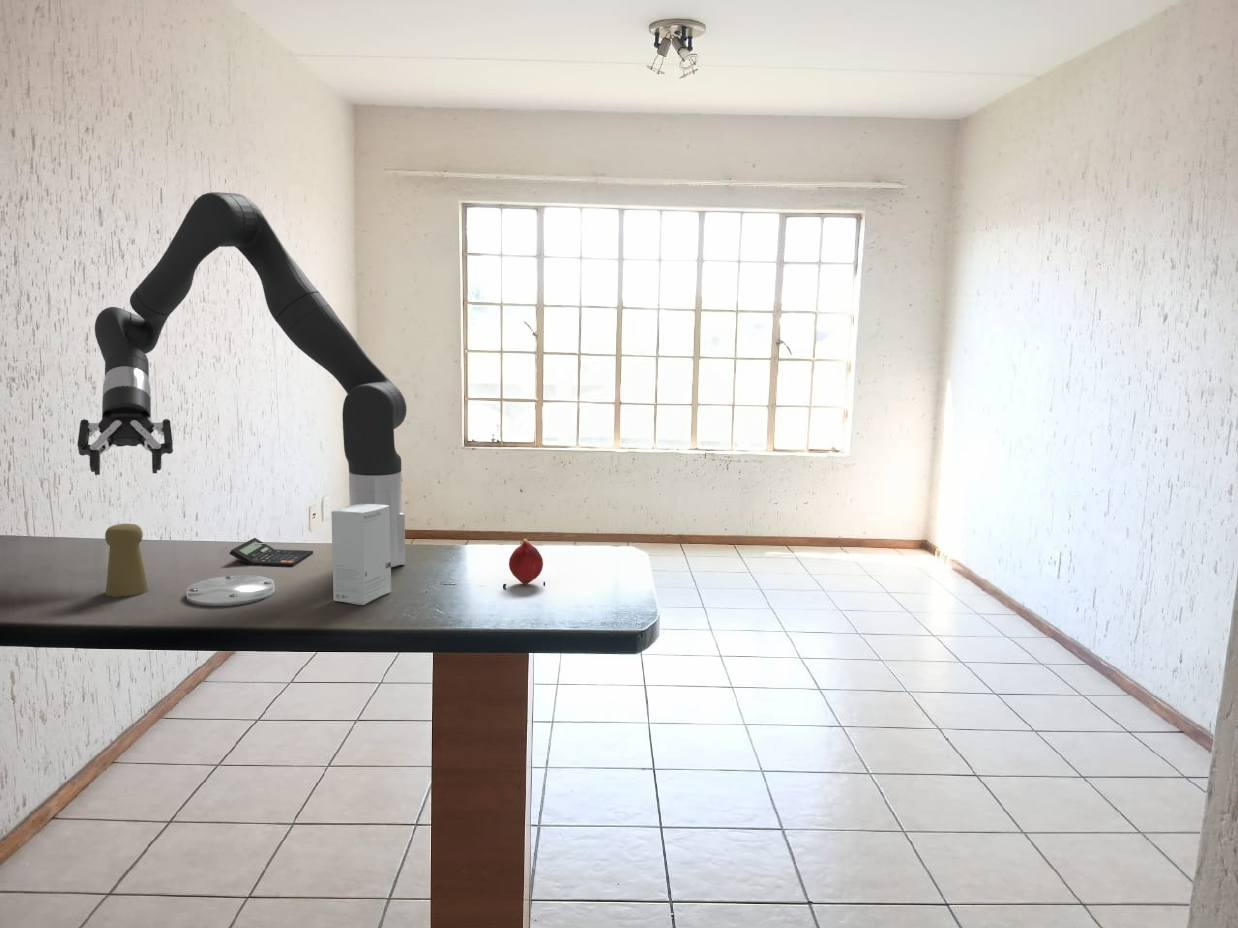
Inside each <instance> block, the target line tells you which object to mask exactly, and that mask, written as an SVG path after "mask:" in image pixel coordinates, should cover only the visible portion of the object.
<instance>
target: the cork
mask: <svg viewBox="0 0 1238 928" xmlns="http://www.w3.org/2000/svg"><path fill="white" fill-rule="evenodd" d="M143 537H144V535H143V529H142V528H141V526H139V525H138V524H135V523H119V524H118V523H117V524H114V525H111V526H109V527H108V528H106V530H105V534H104V539H105V541H106V544H107V545H108V546H109V552H108V553H109V554H108V562H107V563H108V564H107V575H106V585H105V595H106V596H107V595H108V597H110V596H112V597H111V598H122V597H121V596H129V597H132V596H131V595H135V596H138V595H137V594H140V593H143V594H145V593H146V592H145V591H147V590H148V591H149V586H148V585H149V584H148V581H147V576H146V575H147V574H146V571H145V565H144V562H143V557H142V552H141V546H140V543H141V542H142V541H143ZM148 591H147V592H148ZM144 592H145V593H144ZM140 595H141V594H140ZM119 596H120V597H119Z"/></svg>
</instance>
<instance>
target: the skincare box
mask: <svg viewBox="0 0 1238 928" xmlns="http://www.w3.org/2000/svg"><path fill="white" fill-rule="evenodd" d="M330 513H331V550H332V552H331V554H332V591H333V592H332V595H333V598H332V599H333V601H334V602H341V603H342V602H343V603H347V604H353V605H359V606H365V605H367V604H368V603H370V602H372V601H374V600H376V599H378V598H380V597H383V596H384V595H387V594H389V593H391V592H392V573H391V572H392V567H391V555H390V506H389V505H378V504H357V505H352V506H349V505H347V506H344V507H341V508H338V509H334V510H331V511H330Z"/></svg>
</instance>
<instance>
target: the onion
mask: <svg viewBox="0 0 1238 928" xmlns="http://www.w3.org/2000/svg"><path fill="white" fill-rule="evenodd" d="M543 567H544V559H543V557H542V555H541V553H540V552H539V550H538V549H537V548H536V547H535V546H534V545H532V544H531V543H530V542H529V540H528V539H527V538H523V541H522V543H521V544H520V545H519V546H518V547H516V548H515V549H514V551H512V553H511V555H510V557H509V560H508V568H509V570H510V573H511V574H512V575H513V576H514V578H516V579H517V580H518V581H519V582H520V583H521V584H522V585H526V586H527V585H528V584H530V583H532V582H533V581H534V580H536V579H537V578H538V577H539V576H540V575H541V572H542V570H543Z"/></svg>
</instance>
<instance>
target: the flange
mask: <svg viewBox="0 0 1238 928" xmlns="http://www.w3.org/2000/svg"><path fill="white" fill-rule="evenodd" d="M275 585H276V584H275V581H274V580H273V579H271V578H270V577H266V576H261V575H252V574H237V575H236V574H234V575H225V576H218V577H217V576H216V577H211V578H207V579H204V580H200V581H196V582H194V583H192V584H191V585H189V586H188V587H187V588H186V591H185V592H186V595H185V596H186V600H187V601H188V602H189V603H191V604H195V605H198V606H205V607H207V606H208V607H229V606H230V607H233V606H239V605H240V606H241V605H246V604H251V603H254V602H255V603H256V602H259V601H262V600H264V599H267V598H269V597H270V596H272V595H274V593H275V591H276V588H275V587H276V586H275Z"/></svg>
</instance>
